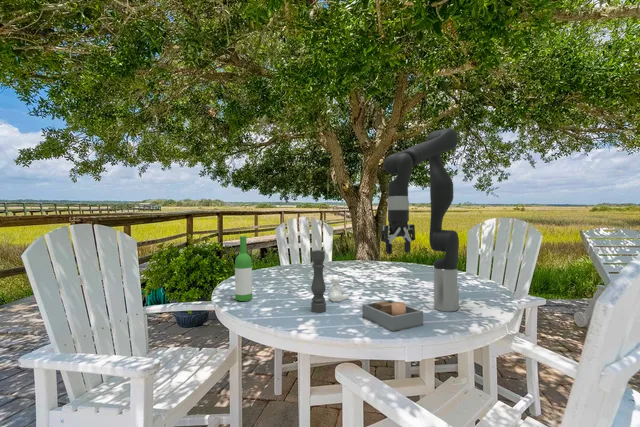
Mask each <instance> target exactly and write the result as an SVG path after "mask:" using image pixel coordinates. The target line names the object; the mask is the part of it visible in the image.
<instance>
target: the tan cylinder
mask: <svg viewBox="0 0 640 427" xmlns="http://www.w3.org/2000/svg"><path fill="white" fill-rule="evenodd" d="M406 305H407V304H406V303H405V302H404V301H395V302H392V316H397V315H402V314H406Z"/></svg>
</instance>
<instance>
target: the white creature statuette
mask: <svg viewBox="0 0 640 427" xmlns="http://www.w3.org/2000/svg"><path fill="white" fill-rule="evenodd" d="M328 281H329V282H331V284H332V286H331V290H330V291H331V292H330V293H329V294H328V299H329V300H330V301H331V302H333V303H340V302H344V301H346V300H348V299H349V295H348V294H346V293H344V294H343V293H342V291H343V290H342V289H343V288H342V286H341V284H340V283H341V281H342V279H341V277H340V276H339V275H338V274H333V275H331V277H328Z"/></svg>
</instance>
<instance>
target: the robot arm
mask: <svg viewBox="0 0 640 427" xmlns="http://www.w3.org/2000/svg"><path fill="white" fill-rule="evenodd" d="M458 144H459V137H458V133H457V131H456V130H455V129H454V128H453V129H452V128H442V129H438V130H434V131H431V132H429V134H428V136H427V140H426V141H424V142H420V143H417V144H415V145H412V146H410V147H408V148H406V149H404V150H401V151H398V152H396V153H393V154H390V155H388V156H387V157H386V158H385V160H384V161H383V169H384V171H385V172H386V173H387V174H390V175H396V178H394V179H392V180H391V181H389V182H388V188H387V193H388V195H387V196H388V197H387V198H388V199H387V222H388V225H386V224H382V225H381V227H380V228H381V229H380V230H381V231H380V242H382V243H385V252H386V254H387V255H392V254H393V244H392V243H393V241H394V240H395V239H396V238H399V237H401V238H402V239H403V241H404V251H403V252H404V253H408V254H409V253H410V252H411V247H412V244H411V243H412V241H415V240H416V228H415V224H409V221H410V203H409V202H410V201H409V184H410V179H411V177H412V176H411V175H412V173H413V172H412V171H413V167H415V166H416V165H419V164H421V163H422V162H424V161H426V160H428V164H429V181H430V182H429V191H430V192H429V193H430V194H429V195H430V222H429V235H428V236H429V246H430V249H431V250H432V251H435V252H442V253H445V255H444V257H442V258H438V259H436V260H434V262H433V309H435V310H437V311H441V312H456V311H457V310H458V309H460V308H459V307H460V302H459V301H460V299H459V298H460V296H459V295H460V293H459V291H460V288H459V285H458V262H459V249H460V248H459V246H460V238H459V234H458V232H457V231H455V230H451V229H450V230H449V229H448V230H447V229H443V228H442V227H443V220H444V216H445V215H446V213H447V212H448V210H449V208H450V206H451V205H452V203H453V201H454V182H453V180H452V178H451V176H450V175H449V173H448V172H447V170H446V169H445V167H444V165H443V161H442V153H445V152H446V153H447V152H451V151H452V150H455V149H456V147H457V146H458Z"/></svg>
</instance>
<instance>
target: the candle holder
mask: <svg viewBox="0 0 640 427" xmlns="http://www.w3.org/2000/svg"><path fill="white" fill-rule="evenodd" d="M310 258H311V261H312V263H313V264H311V267H312V268H313V277H312V282H311V287H310V289H311V293H312V294H313V297H312V298H311V304H310V305H311V309H310V310H311V312H312V313H314V314H316V313H317V314H321V313H326V311H327V303H326V298H325V297H324V295H325V292H326V284H325V279H324V268H325V264H324V263H325V259H326V251H325V250H322V249H320V250H318V249H314V250H311V257H310Z"/></svg>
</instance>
